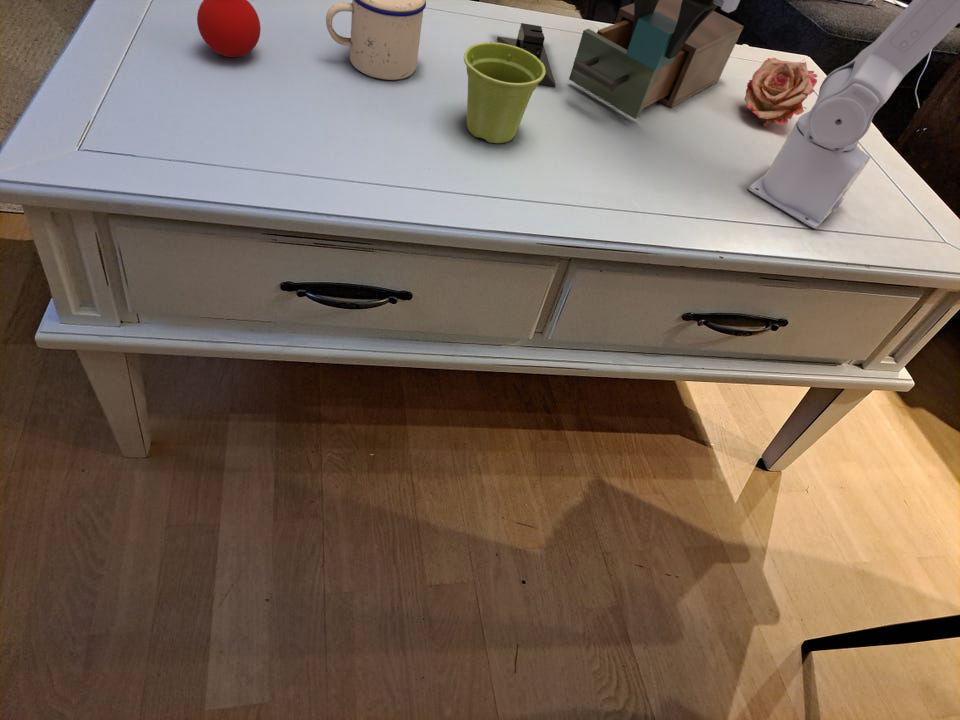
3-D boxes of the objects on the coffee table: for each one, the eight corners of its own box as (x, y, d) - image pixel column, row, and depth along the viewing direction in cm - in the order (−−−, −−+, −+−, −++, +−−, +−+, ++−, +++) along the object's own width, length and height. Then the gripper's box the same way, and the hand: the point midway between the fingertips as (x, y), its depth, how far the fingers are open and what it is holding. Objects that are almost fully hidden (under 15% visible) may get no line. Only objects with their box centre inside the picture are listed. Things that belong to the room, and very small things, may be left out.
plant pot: (472, 156, 80) (486, 86, 73) (440, 111, 85) (451, 42, 78) (540, 148, 84) (560, 81, 77) (506, 106, 89) (522, 40, 82)
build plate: (555, 89, 95) (564, 56, 91) (503, 82, 93) (511, 48, 90) (542, 45, 102) (551, 13, 99) (494, 37, 101) (501, 5, 97)
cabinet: (670, 108, 97) (696, 48, 91) (600, 67, 101) (619, 7, 95) (717, 82, 105) (744, 26, 99) (650, 45, 110) (671, -11, 103)
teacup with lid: (409, 48, 94) (419, -44, 85) (425, 83, 89) (437, -11, 80) (320, 44, 90) (321, -53, 81) (330, 80, 85) (333, -19, 76)
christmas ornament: (210, 70, 81) (200, -19, 74) (193, 41, 85) (182, -47, 77) (269, 66, 84) (266, -20, 77) (251, 38, 88) (246, -47, 80)
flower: (758, 81, 104) (762, 43, 97) (820, 95, 101) (829, 58, 93) (731, 134, 103) (732, 100, 96) (792, 150, 100) (799, 117, 92)
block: (672, 62, 86) (687, 26, 82) (655, 70, 83) (669, 34, 80) (644, 46, 87) (657, 10, 84) (625, 54, 84) (638, 18, 81)
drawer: (616, 129, 88) (635, 79, 83) (548, 88, 92) (562, 37, 87) (684, 92, 99) (704, 46, 94) (620, 56, 103) (637, 10, 98)
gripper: (627, -100, 74) (588, 27, 84) (743, -45, 69) (687, 82, 79) (660, -106, 78) (619, 16, 88) (772, -55, 73) (715, 67, 83)
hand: (653, 46), depth 84 cm, fingers closed on block, 4 cm apart
